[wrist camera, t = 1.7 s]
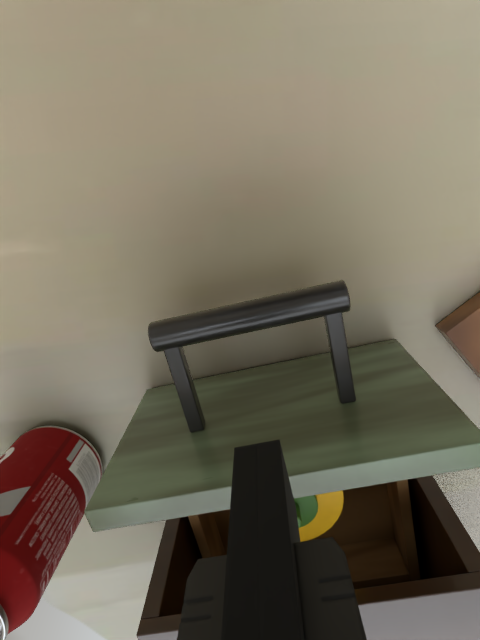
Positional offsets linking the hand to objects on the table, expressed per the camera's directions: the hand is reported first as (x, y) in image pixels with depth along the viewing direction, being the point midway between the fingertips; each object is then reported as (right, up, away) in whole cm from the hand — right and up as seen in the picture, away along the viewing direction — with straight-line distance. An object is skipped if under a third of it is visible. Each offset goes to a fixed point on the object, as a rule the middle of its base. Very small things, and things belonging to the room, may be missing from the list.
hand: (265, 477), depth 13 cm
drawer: (+2, -2, +15) cm, 15 cm away
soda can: (-14, -5, +17) cm, 23 cm away
